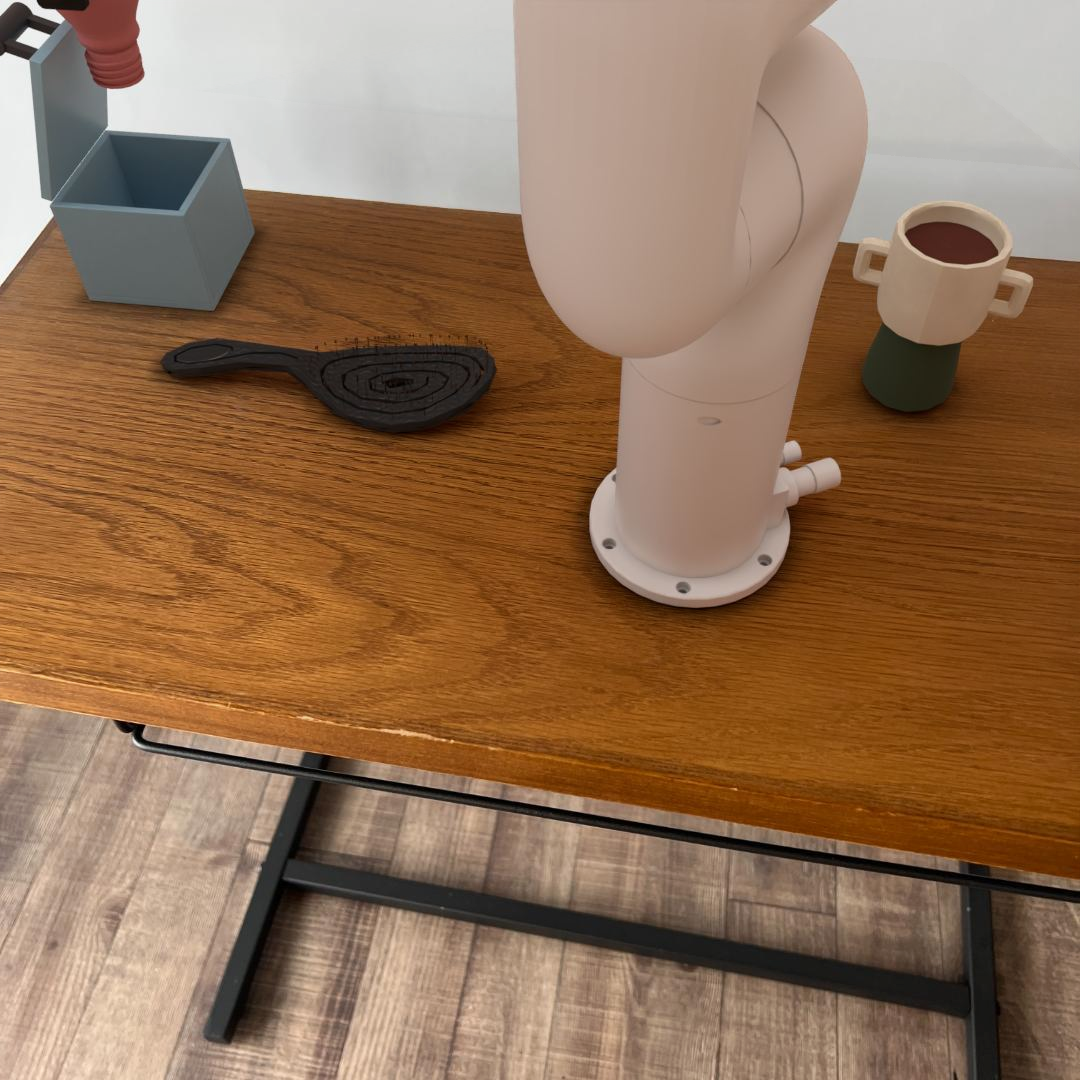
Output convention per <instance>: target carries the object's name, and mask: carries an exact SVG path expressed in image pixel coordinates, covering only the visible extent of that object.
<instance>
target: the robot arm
mask: <svg viewBox="0 0 1080 1080" xmlns="http://www.w3.org/2000/svg"><path fill="white" fill-rule="evenodd" d="M35 1H36V3H37V5H38V6H39V7H40V8H41V9H43V10H55V11H56V10H72V11H84V10H85V9H86V8H87V7H88V6H89V0H35ZM837 1H838V0H512V16H513V17H512V18H513V19H512V20H513V21H512V22H513V23H512V24H513V43H514V44H513V48H514V49H513V50H514V73H515V74H514V75H515V76H514V77H515V102H516V103H515V104H516V105H515V106H516V128H517V129H516V131H517V132H516V133H517V155H518V157H517V158H518V180H519V205H520V216H521V223H522V231H523V237H524V243H525V247H526V252H527V256H528V259H529V263H530V265H531V270H532V271H533V275H534V277H535V279H536V281H537V284H538V286H539V288H540V291H541V292H542V294H543V296H544V298H545V299H546V301H547V303H548V305H549V306H550V307H551V309H552V311H553V312H554V313H555V314H556V316H557V318H559V320H560V321H561V322H562V323H563V324H564V326H565V327H566V328H567V329H568V330H569V331H570V332H571V333H572V334H574V335H575V336H576V337H577V338H578V339H580V340H581V341H583V342H584V343H586V344H587V345H588V346H590V347H593V348H594V349H596V350H598V351H600V352H602V353H605V354H608V355H610V356H614V357H617V358H621V377H620V393H619V394H620V395H619V398H620V399H619V415H618V432H617V433H618V434H617V451H616V452H617V453H616V455H617V456H616V467H615V468H614V469H613V470H611V472H609V473H608V474H607V475H606V476H605V477H604V478H603V480H602V481H601V483H600V484H599V485H598V487H597V489H596V491H595V493H594V494H593V498H592V500H591V503H590V509H589V521H588V522H589V524H588V525H589V528H588V529H589V535H590V540H591V545H592V548H593V550H594V552H595V554H596V556H597V558H598V560H599V562H600V563H601V565H602V566H603V567H604V568H605V570H606V571H607V572H608V573H609V574H610V576H612V577H613V578H614V579H615V580H616V581H617V582H618V583H620V584H621V585H622V586H624V587H626V588H627V589H629V590H630V591H632V592H634V593H636V594H637V595H639V596H641V597H644V598H646V599H648V600H651V601H654V602H657V603H660V604H664V605H669V606H673V607H681V608H693V609H694V608H695V609H699V608H711V607H719V606H723V605H727V604H731V603H733V602H738V601H739V600H742V599H743V598H745V597H748V596H751V595H752V594H754V593H756V592H757V591H758V590H759V589H761V588H762V587H764V586H765V585H766V584H767V583H769V581H770V580H771V579H772V578H773V577H774V576H775V575H776V574H777V572H778V571H779V569H780V567H781V566H782V563H783V561H784V560H785V557H786V553H787V550H788V547H789V544H790V543H789V542H790V536H791V523H790V516H789V512H788V508H789V507H792V506H795V505H797V504H798V502H799V499H800V498H801V497H804V496H807V495H810V494H811V495H815V494H819V493H821V492H824V491H827V490H831V489H834V488H836V487H838V486H840V485H841V481H842V472H841V470H840V467H839V464H838V463H837V462H836V460H835V459H833V458H832V457H826V458H823V459H819V460H816V461H812V462H810V463H807V464H803V465H802V466H801V467H798V468H796V469H792V470H790V469H788V468H787V467H785V466H786V465H790V464H793V463H797V462H799V461H801V459H802V456H803V455H802V449H801V446H800V444H799V442H797V440H790V441H787V437H788V432H789V427H790V423H791V419H792V415H793V410H794V405H795V401H796V396H797V392H798V387H799V384H800V378H801V375H802V370H803V366H804V363H805V359H806V356H807V355H806V354H807V351H808V346H809V341H810V337H811V333H812V331H813V325H814V321H815V317H816V313H817V310H818V305H819V302H820V298H821V296H822V295H821V294H822V292H823V288H824V285H825V281H826V278H827V275H828V272H829V270H830V267H831V264H832V261H833V257H834V256H835V253H836V250H837V247H838V244H839V242H840V239H841V236H842V234H843V232H844V228H845V226H846V223H847V220H848V218H849V215H850V212H851V211H852V207H853V204H854V201H855V198H856V194H857V191H858V189H859V185H860V182H861V178H862V174H863V170H864V166H865V161H866V155H867V150H868V149H867V148H868V140H869V138H868V137H869V119H868V117H869V115H868V107H867V102H866V96H865V92H864V88H863V84H862V82H861V79H860V77H859V75H858V74H857V71H856V69H855V67H854V65H853V63H852V62H851V60H850V59H849V57H848V56H847V54H846V53H845V51H844V50H843V49H842V48H841V47H840V46H839V45H838V43H836V41H834V40H833V38H831V37H830V36H828V35H827V34H826V33H825V32H823V31H822V30H821V29H818V28H817V27H815V26H813V25H812V23H813V22H815V21H816V20H817V19H818V18H819V17H820V16H821V15H823V14H824V13H825V12H826V11H827V10H828V9H829V8H830V7H832V6H833V5H834V4H835V3H836V2H837ZM786 441H787V442H786Z"/></svg>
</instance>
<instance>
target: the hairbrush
mask: <svg viewBox="0 0 1080 1080" xmlns="http://www.w3.org/2000/svg"><path fill="white" fill-rule="evenodd" d="M387 336H388V337H387V338H389V339H388V341H389V343H391V339H390V338H391V335H390V334H388V335H387ZM418 336H419V338H422V334H421V333H419V334H418ZM408 337H409V338H411V337H413V340H415V334H414V333H412V334H411V333H409V334H408ZM428 337H429V343H430V344H428V342H426V343H425V344H424V345H421V344H419V345H418V342H413V345H412V344H411V341H410V343H409V344H410V345H408V343H405V345H397V343H394V345H389V346H387V344H386V343H384V346H378V344H376V342H375V344H374V345H373V346H371V347H370V343H369V341H370V340H369V339H370V338H369V336H367V337H366V340H367V346H368V347H365V345H363V346H362V347H359V343H358V342H359V338H358V336H356V337H354V339H353V340H354V342H355V347H354V346H352V347H351V348H346V349H339V350H338V348H335V350H330V351H319V345H316V346H314V349H315V350H316V351H314V350H309V349H307V350H306V349H303V348H295V347H290V346H289V347H288V346H280V345H273V344H265V343H258V342H252V341H251V342H250V341H244V340H237V339H228V338H221V337H215V338H208V339H203V340H202V339H201V340H197V341H196V340H195V341H191V342H187V343H184V344H183V345H180V346H178V347H176V348H174V349H172V350H170V351H168V352H166V353H165V354H164V356H163V357H162V358H161V360H160V364H161V367H162V369H163V370H164V372H166V373H167V374H169V375H171V376H174V377H175V378H177V379H179V378H181V379H183V378H194V377H196V378H197V377H208V376H215V375H220V374H222V375H223V374H228V373H234V372H240V371H241V372H242V371H249V372H251V371H252V372H265V373H281V374H288V375H289V376H290V377H291V378H293V379H294V380H295V381H297V383H299V384H301V385H302V386H303V387H304V388H306V389H307V390H308V391H309V392H311V393H312V394H313V395H314V396H315V397H316V399H318V400H319V401H320V402H321V403H322V404H323V405H324V406H325V407H326V408H327V409H328V410H329V411H331V413H332V414H334V415H336V416H338V417H340V418H342V419H344V420H346V421H348V422H350V423H352V424H354V425H356V426H358V427H360V428H363V429H367V430H368V429H369V430H374V431H380V432H385V433H390V434H391V433H405V432H413V431H414V432H415V431H423V430H425V431H426V430H429V429H431V428H433V427H436V426H438V425H440V424H443V423H445V422H447V421H450V420H452V419H454V418H457V417H459V416H461V415H463V414H466V413H467V412H469V410H470V409H471V408H472V407H473V406H475V405H476V404H477V403H478V402H479V401H480V400H481V399H482V398H483V397H484V396H485V395H486V394H488V392H489V391H490V389H491V386H492V384H493V381H494V379H495V377H496V374H497V371H498V369H497V366H496V363H495V362H496V360H495V359H496V358H494V356H492V355H491V354H490V353H489V350H488V349H489V347H488V346H487V343H486V342H485V343H484V347H485V348H483V347H482V345H483V341H481V339H478V343H479V344H480V346H469V344H468V338H469V335H468V334H465V335H464V339H466V345H456V344H455V345H454V344H447V343H445V344H441V342H439V344H438V343H437V342H436V343H434V342H433V341H432V338H434V336H433V333H429V334H428ZM395 338H396V335H395V334H394V335H393V339H395ZM398 338H399V339H401V335H400V334H398ZM438 338H439V339H441V338H442V335H441V334H438ZM344 339H345V340H344V341H345V342H348V337H345V338H344ZM373 339H374V340H376V339H377V340H378V341H380V336H379V335H378V336H373ZM450 339H451V335H450V334H448V340H450ZM457 339H458V341H460V336H457ZM473 339H474V340H476V339H477V337H476V336H474V337H473ZM334 343H335V344H337V340H336V339H335V340H334ZM323 344H324V346H327V343H326V342H324V343H323ZM344 387H345V388H344Z"/></svg>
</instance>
